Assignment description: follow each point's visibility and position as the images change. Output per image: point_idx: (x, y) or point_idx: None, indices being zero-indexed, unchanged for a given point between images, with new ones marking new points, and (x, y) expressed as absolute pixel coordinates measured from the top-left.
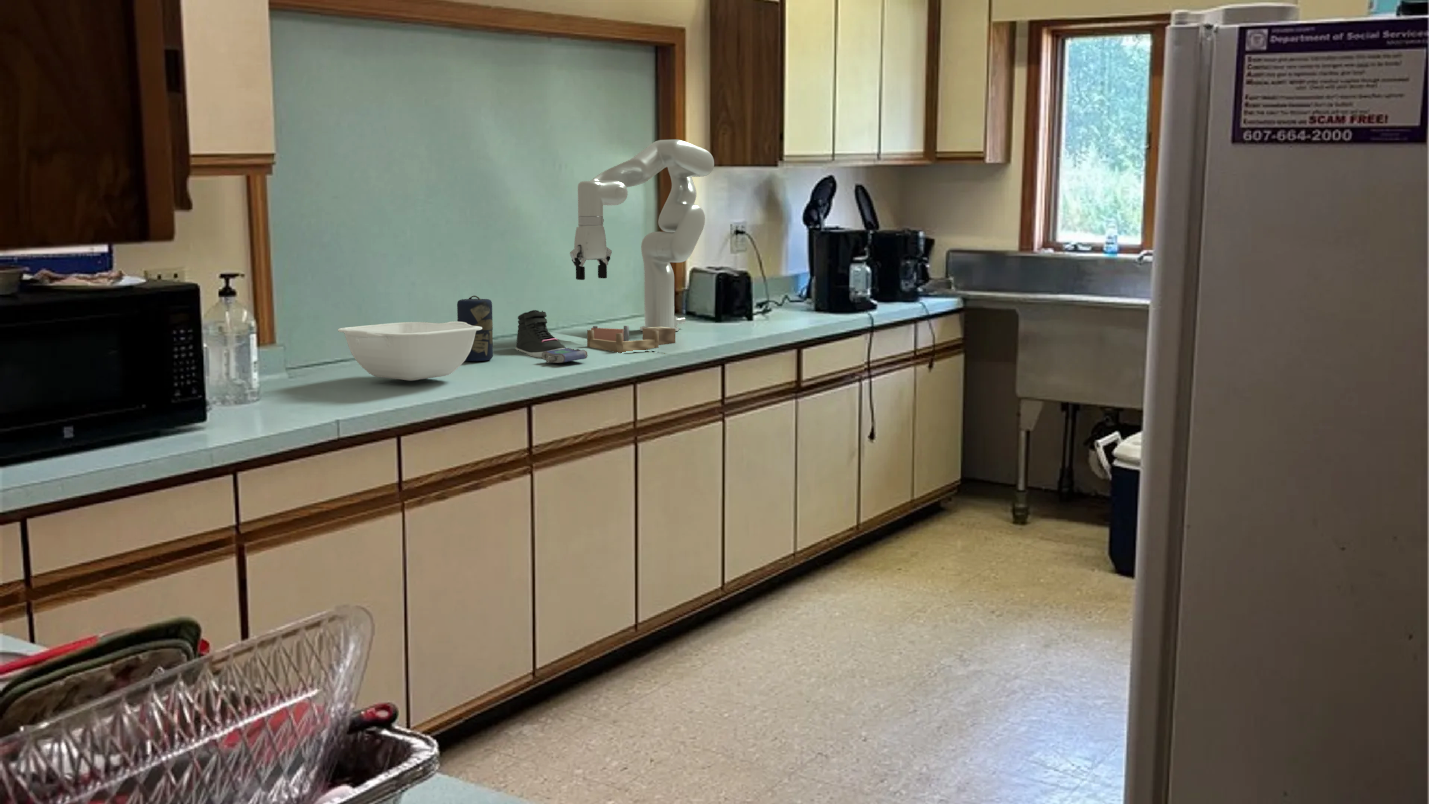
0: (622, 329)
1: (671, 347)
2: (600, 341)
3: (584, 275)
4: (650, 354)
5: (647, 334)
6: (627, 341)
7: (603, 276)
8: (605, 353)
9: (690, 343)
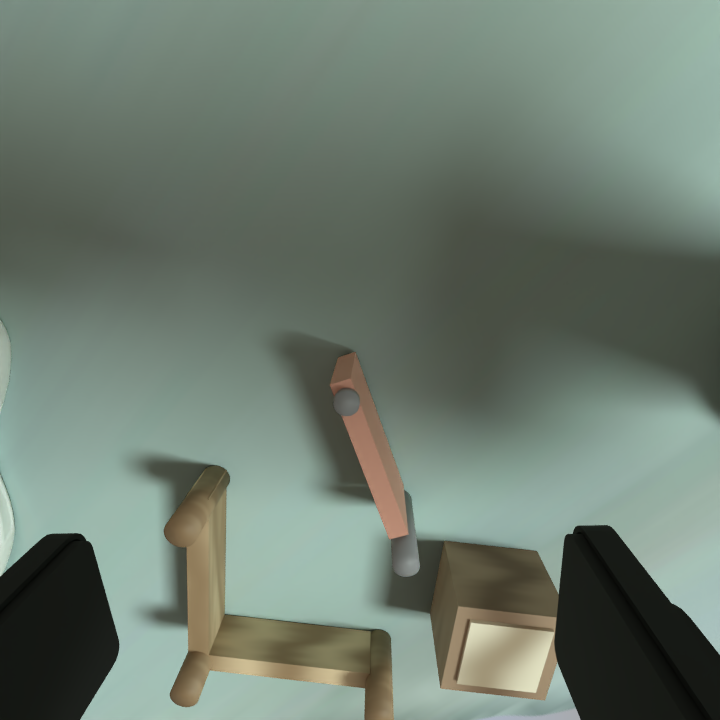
0: (397, 536)
1: None
2: (189, 571)
3: (70, 716)
4: (291, 682)
5: (447, 611)
6: (238, 666)
7: (564, 648)
8: None
9: (704, 567)
